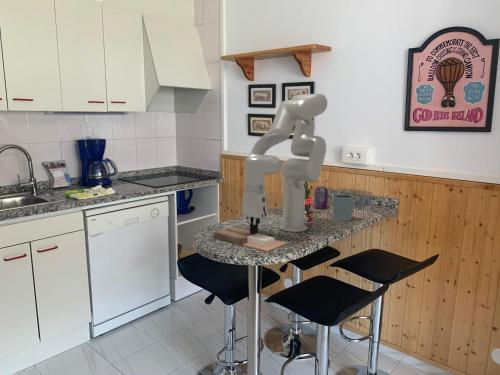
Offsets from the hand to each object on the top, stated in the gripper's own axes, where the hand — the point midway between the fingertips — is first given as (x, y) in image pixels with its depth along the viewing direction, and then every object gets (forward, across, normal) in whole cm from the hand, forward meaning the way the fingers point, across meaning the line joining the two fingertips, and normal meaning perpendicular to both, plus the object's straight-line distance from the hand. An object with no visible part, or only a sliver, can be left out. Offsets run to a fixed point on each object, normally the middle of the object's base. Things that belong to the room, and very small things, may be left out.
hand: (254, 233), depth 157 cm
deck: (+4, +9, 0) cm, 9 cm away
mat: (+4, -5, 0) cm, 6 cm away
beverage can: (+4, +12, -72) cm, 73 cm away
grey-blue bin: (+4, -9, -57) cm, 58 cm away
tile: (+3, -4, 0) cm, 5 cm away
